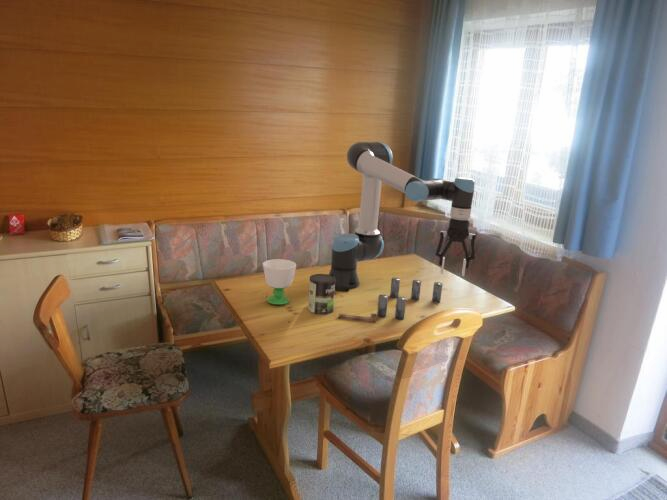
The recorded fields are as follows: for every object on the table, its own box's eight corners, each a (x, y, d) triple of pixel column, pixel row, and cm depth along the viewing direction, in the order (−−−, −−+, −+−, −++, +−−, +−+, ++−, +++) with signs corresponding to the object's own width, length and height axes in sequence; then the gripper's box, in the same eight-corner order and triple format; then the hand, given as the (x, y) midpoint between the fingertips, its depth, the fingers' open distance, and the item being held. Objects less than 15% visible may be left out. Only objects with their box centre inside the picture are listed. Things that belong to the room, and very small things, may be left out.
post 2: (389, 299, 210) (391, 279, 208) (389, 296, 213) (391, 277, 211) (397, 300, 209) (400, 280, 207) (398, 297, 213) (400, 278, 210)
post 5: (431, 304, 207) (434, 284, 205) (431, 301, 211) (433, 281, 208) (440, 305, 207) (442, 285, 205) (439, 302, 210) (442, 282, 208)
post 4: (410, 301, 209) (412, 282, 206) (410, 298, 212) (412, 279, 210) (418, 302, 208) (421, 282, 206) (418, 299, 212) (421, 280, 209)
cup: (281, 292, 210) (282, 257, 206) (301, 301, 201) (303, 265, 196) (254, 299, 201) (255, 262, 196) (275, 309, 191) (276, 271, 187)
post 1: (376, 318, 189) (378, 297, 186) (377, 315, 192) (379, 294, 190) (385, 320, 188) (387, 298, 186) (386, 316, 191) (388, 295, 189)
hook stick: (338, 320, 185) (338, 315, 184) (340, 314, 191) (340, 309, 190) (375, 324, 183) (375, 320, 183) (376, 318, 189) (376, 313, 188)
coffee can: (338, 310, 194) (340, 277, 190) (324, 318, 186) (326, 284, 182) (317, 304, 199) (319, 271, 195) (302, 312, 191) (304, 278, 187)
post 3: (394, 321, 188) (396, 299, 185) (394, 317, 191) (397, 296, 189) (403, 322, 187) (406, 300, 185) (404, 318, 191) (406, 297, 188)
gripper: (433, 217, 185) (426, 274, 191) (488, 222, 182) (479, 280, 188) (432, 213, 192) (426, 268, 198) (485, 218, 189) (477, 274, 195)
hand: (452, 274), depth 193 cm, fingers open, 8 cm apart
